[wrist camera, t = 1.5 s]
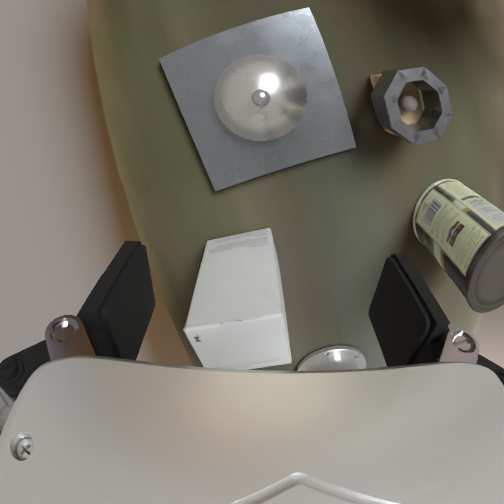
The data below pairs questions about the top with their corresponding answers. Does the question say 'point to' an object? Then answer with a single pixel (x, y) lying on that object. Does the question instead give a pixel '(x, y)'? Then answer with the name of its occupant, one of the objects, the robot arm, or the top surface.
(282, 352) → the skincare box
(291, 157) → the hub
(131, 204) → the top surface
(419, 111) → the stand
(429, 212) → the coffee can
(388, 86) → the plate ring
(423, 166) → the top surface
